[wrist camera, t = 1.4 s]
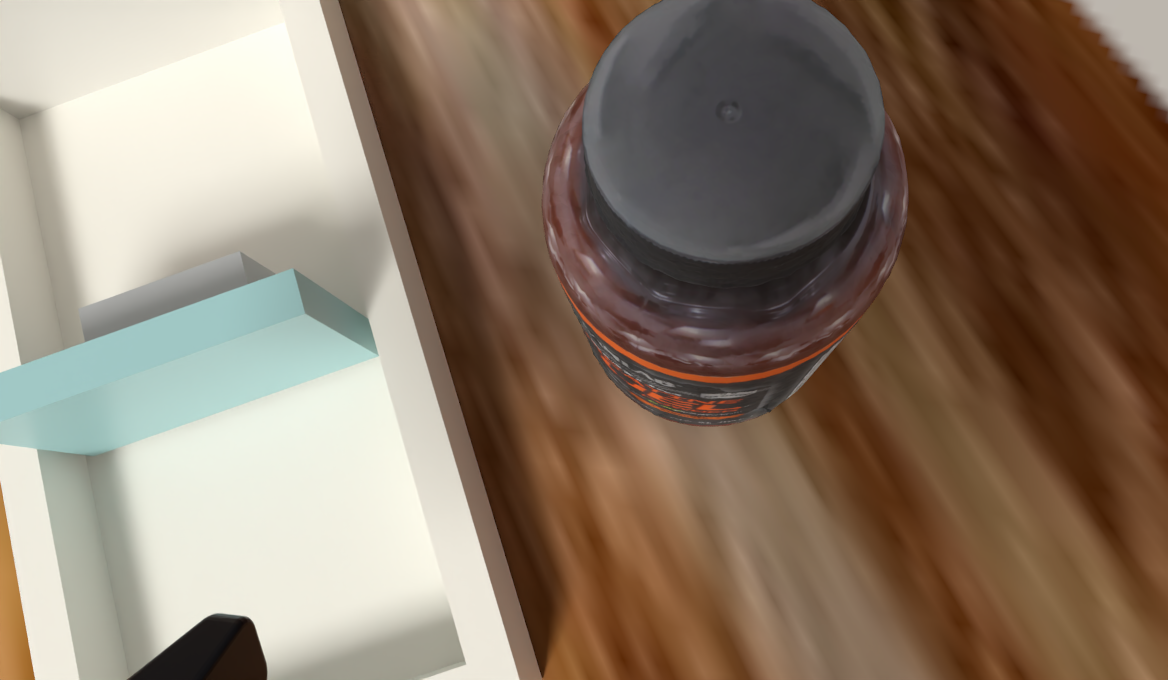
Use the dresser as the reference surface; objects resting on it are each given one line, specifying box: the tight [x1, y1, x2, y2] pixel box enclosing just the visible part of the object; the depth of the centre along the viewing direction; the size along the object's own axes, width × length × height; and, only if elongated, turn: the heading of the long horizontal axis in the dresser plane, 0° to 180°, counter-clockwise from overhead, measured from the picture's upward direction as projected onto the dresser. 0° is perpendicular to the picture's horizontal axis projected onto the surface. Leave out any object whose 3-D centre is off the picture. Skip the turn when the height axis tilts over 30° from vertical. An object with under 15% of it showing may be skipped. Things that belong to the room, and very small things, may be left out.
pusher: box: [0, 251, 379, 456], centre depth 21 cm, size 3×8×4 cm, turn 108°
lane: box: [0, 0, 542, 680], centre depth 21 cm, size 20×10×7 cm, turn 18°
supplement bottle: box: [542, 0, 909, 426], centre depth 17 cm, size 6×6×11 cm
